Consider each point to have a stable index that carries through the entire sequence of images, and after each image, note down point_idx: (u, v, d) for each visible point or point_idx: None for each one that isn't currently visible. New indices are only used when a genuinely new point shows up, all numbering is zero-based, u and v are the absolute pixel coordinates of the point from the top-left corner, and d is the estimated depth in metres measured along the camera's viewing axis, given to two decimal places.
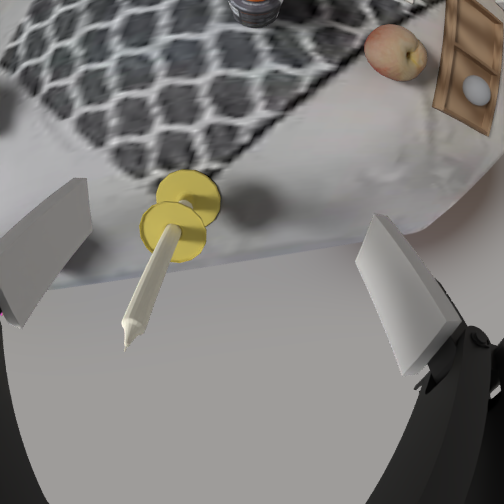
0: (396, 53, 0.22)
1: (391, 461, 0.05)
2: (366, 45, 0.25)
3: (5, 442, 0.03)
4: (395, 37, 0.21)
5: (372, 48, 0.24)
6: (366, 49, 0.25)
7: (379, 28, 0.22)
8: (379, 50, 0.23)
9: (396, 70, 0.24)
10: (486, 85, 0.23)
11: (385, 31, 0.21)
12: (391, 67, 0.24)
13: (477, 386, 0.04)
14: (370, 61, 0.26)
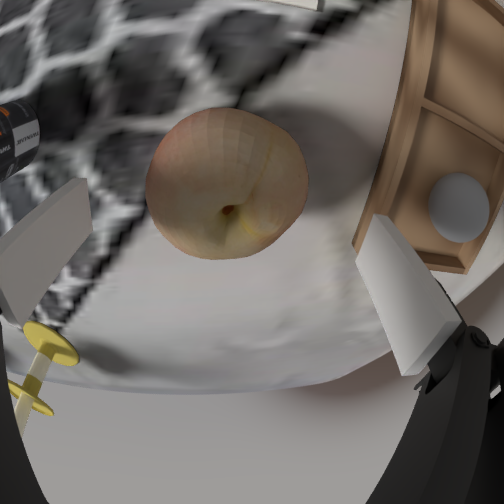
0: (175, 234, 0.12)
1: (391, 461, 0.05)
2: None
3: (6, 442, 0.03)
4: (170, 186, 0.11)
5: None
6: None
7: (162, 140, 0.12)
8: (152, 217, 0.13)
9: None
10: (482, 206, 0.13)
11: (158, 158, 0.11)
12: None
13: (477, 386, 0.04)
14: None
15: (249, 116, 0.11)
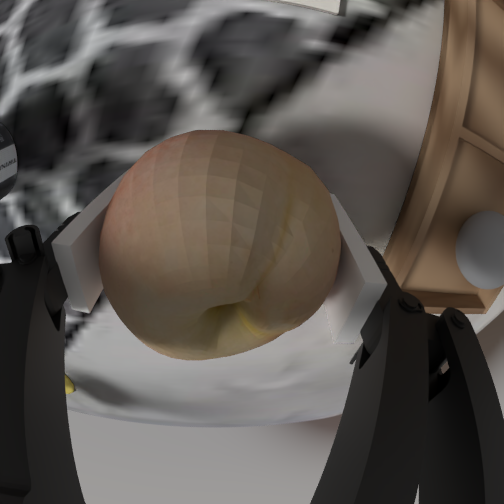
0: (142, 340, 0.07)
1: (334, 444, 0.06)
2: None
3: (55, 443, 0.04)
4: (123, 278, 0.06)
5: None
6: None
7: (118, 187, 0.08)
8: None
9: None
10: None
11: (108, 223, 0.07)
12: None
13: (412, 356, 0.05)
14: None
15: (253, 147, 0.07)
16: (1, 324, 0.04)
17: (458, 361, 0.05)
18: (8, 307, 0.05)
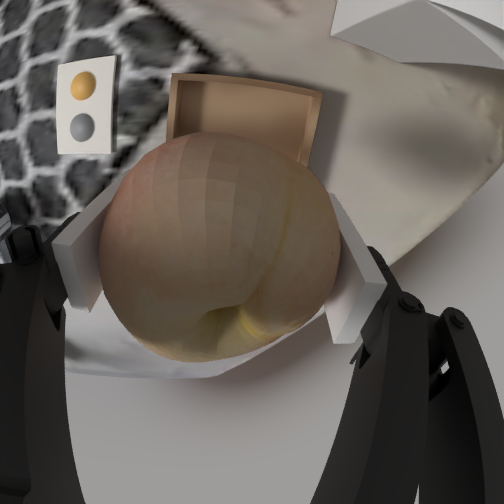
0: (142, 342, 0.07)
1: (334, 444, 0.06)
2: None
3: (54, 442, 0.04)
4: (123, 281, 0.06)
5: None
6: None
7: (117, 189, 0.08)
8: None
9: None
10: None
11: (107, 226, 0.07)
12: None
13: (412, 356, 0.05)
14: None
15: (252, 150, 0.07)
16: (1, 324, 0.04)
17: (458, 362, 0.05)
18: (8, 307, 0.05)
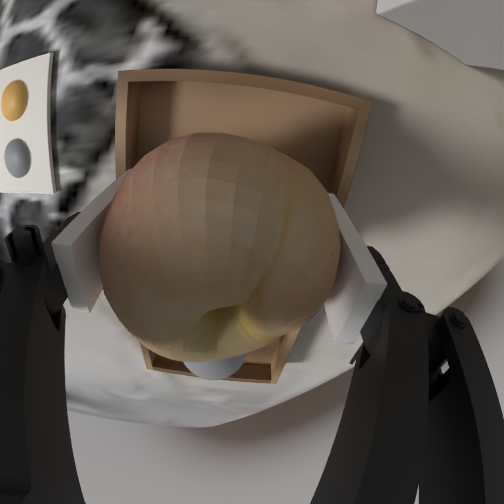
0: (142, 342, 0.07)
1: (334, 443, 0.06)
2: None
3: (54, 442, 0.04)
4: (123, 281, 0.06)
5: None
6: None
7: (117, 189, 0.08)
8: None
9: None
10: (211, 361, 0.17)
11: (108, 225, 0.07)
12: None
13: (412, 356, 0.05)
14: None
15: (252, 150, 0.07)
16: (1, 324, 0.04)
17: (458, 362, 0.05)
18: (8, 307, 0.05)
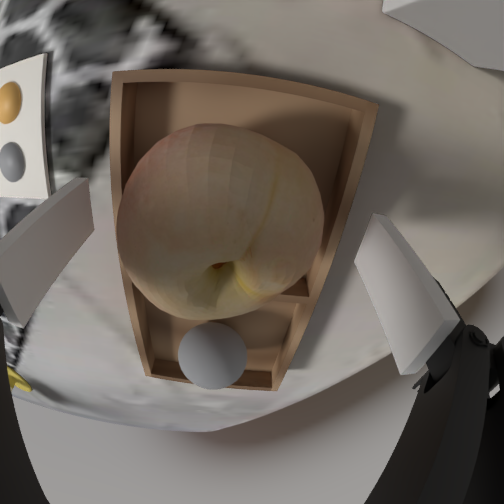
0: (152, 297, 0.09)
1: (389, 460, 0.05)
2: None
3: (6, 442, 0.03)
4: (139, 240, 0.08)
5: None
6: None
7: (134, 169, 0.09)
8: None
9: None
10: (210, 371, 0.17)
11: (126, 197, 0.08)
12: None
13: (476, 385, 0.04)
14: None
15: (247, 136, 0.09)
16: None
17: None
18: None
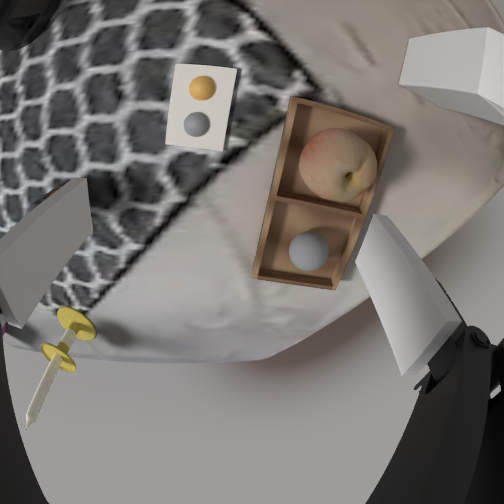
0: (328, 181, 0.25)
1: (391, 461, 0.05)
2: (300, 160, 0.28)
3: (5, 442, 0.03)
4: (330, 159, 0.24)
5: (303, 169, 0.27)
6: (299, 166, 0.28)
7: (316, 139, 0.25)
8: (309, 174, 0.26)
9: (329, 197, 0.27)
10: (314, 251, 0.33)
11: (320, 147, 0.24)
12: (323, 195, 0.27)
13: (477, 386, 0.04)
14: (303, 180, 0.29)
15: (355, 134, 0.25)
16: None
17: None
18: None
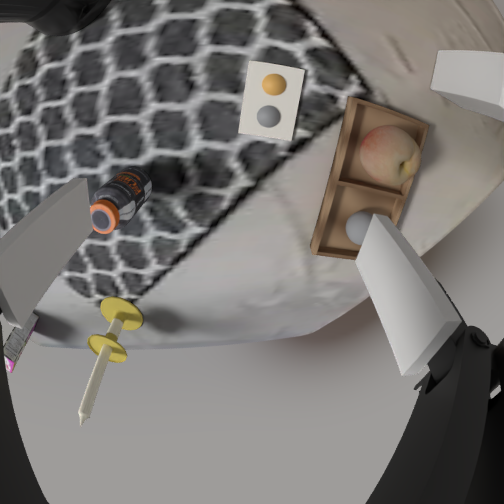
0: (389, 168, 0.28)
1: (391, 461, 0.05)
2: (361, 151, 0.31)
3: (5, 442, 0.03)
4: (391, 151, 0.28)
5: (366, 158, 0.30)
6: (361, 155, 0.32)
7: (376, 134, 0.29)
8: (373, 163, 0.30)
9: (387, 182, 0.31)
10: None
11: (381, 140, 0.28)
12: (382, 179, 0.30)
13: (477, 386, 0.04)
14: (363, 167, 0.32)
15: None
16: None
17: None
18: None
